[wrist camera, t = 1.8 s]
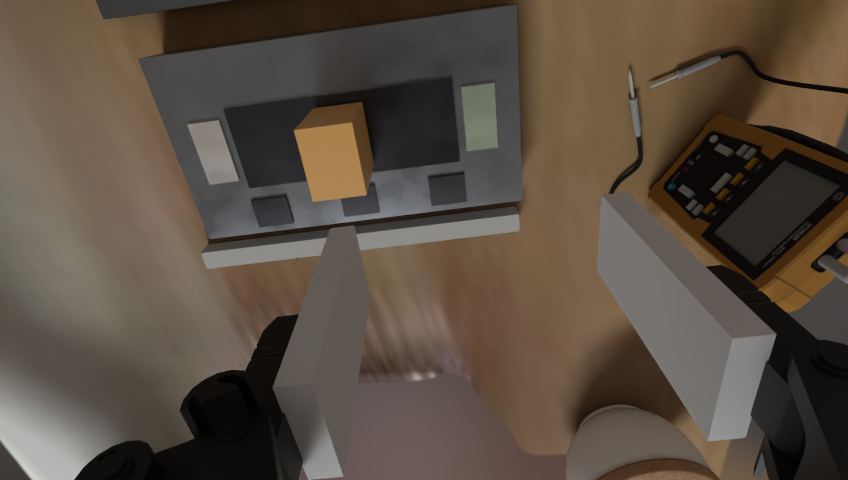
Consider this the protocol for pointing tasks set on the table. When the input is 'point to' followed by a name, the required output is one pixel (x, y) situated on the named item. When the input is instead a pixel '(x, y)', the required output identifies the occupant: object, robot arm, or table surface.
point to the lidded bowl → (633, 448)
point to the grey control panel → (342, 84)
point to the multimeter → (759, 199)
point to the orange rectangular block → (336, 151)
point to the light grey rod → (364, 237)
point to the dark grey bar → (145, 6)
